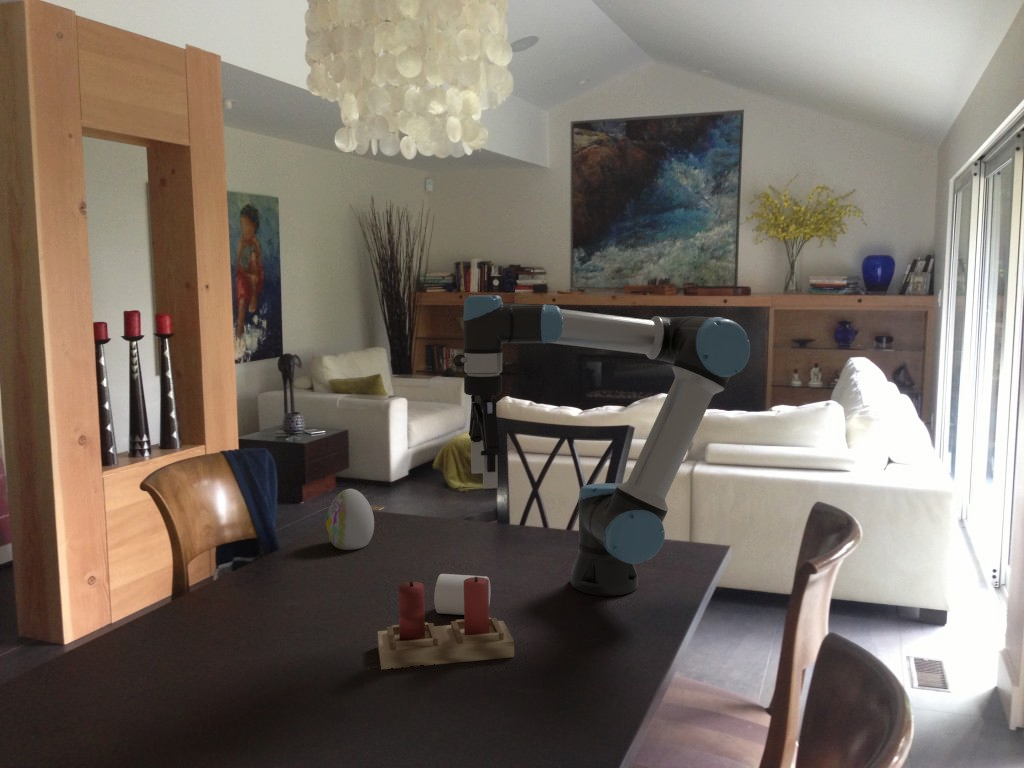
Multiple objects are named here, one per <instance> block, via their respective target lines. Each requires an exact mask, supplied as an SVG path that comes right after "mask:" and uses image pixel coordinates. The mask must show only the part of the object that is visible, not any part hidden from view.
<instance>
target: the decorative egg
mask: <svg viewBox="0 0 1024 768" xmlns="http://www.w3.org/2000/svg"><path fill="white" fill-rule="evenodd" d="M325 524H326V527H325V528H326V533H327V536H328V539H329V541H330V543H331V545H333V546H334V547H335V548H336V549H339V550H343V551H353V550H354V551H355V550H359V549H363V548H365V547H366V546H367V545H368V544H369V543H370V542H371V539H372V537H373V535H374V531H375V516H374V513H373V509H372V506H371V504H370V503H369V501H368V499H367V498H366V497H365V495H363V493H361V492H360V491H359V490H357V489H354V488H347V489H344V490H342V491H340V492H339V493H338V494H337V495H336V496H335V497H334V498H333V500H332V502H331V504H330V506H329V507H328V511H327V515H326V523H325Z"/></svg>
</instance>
